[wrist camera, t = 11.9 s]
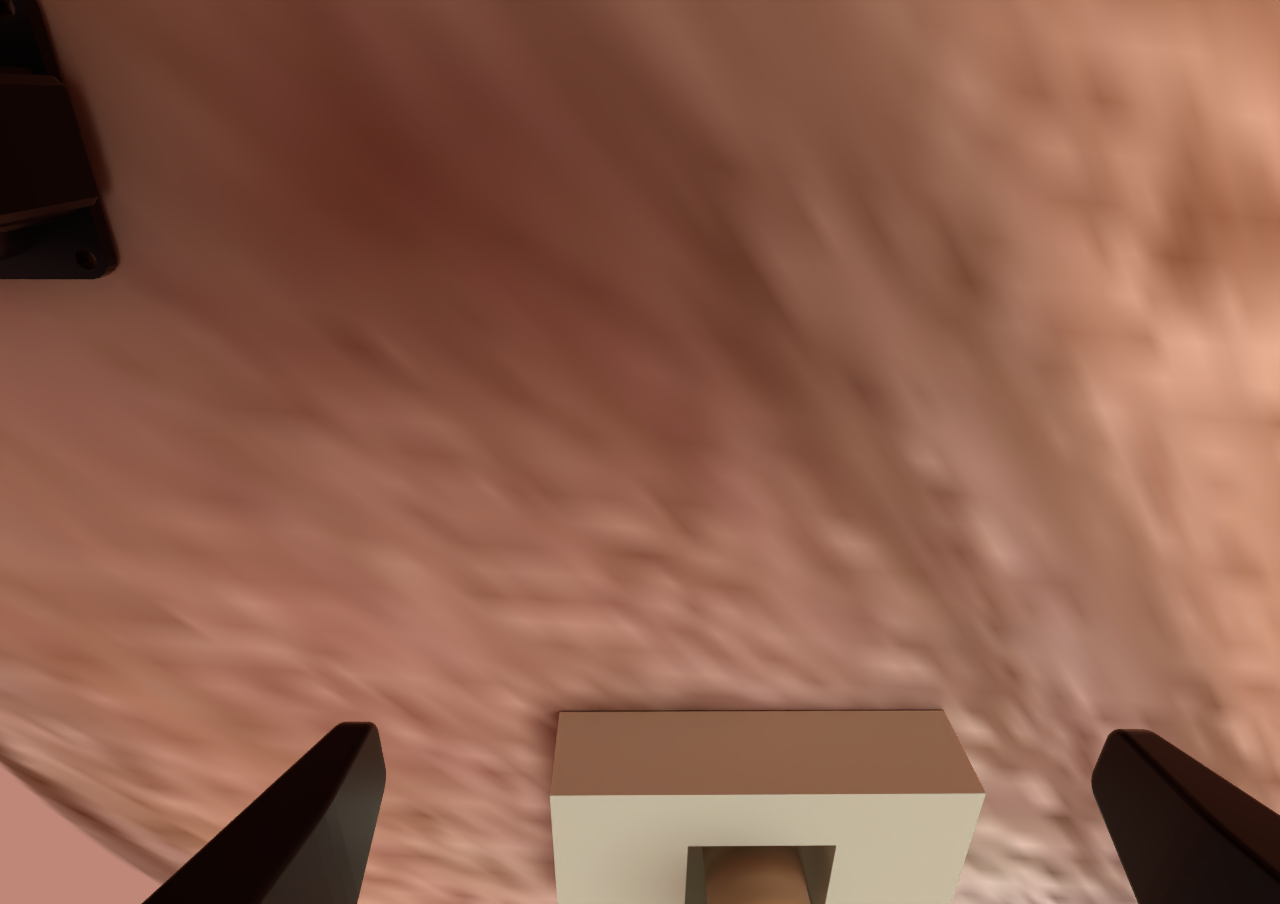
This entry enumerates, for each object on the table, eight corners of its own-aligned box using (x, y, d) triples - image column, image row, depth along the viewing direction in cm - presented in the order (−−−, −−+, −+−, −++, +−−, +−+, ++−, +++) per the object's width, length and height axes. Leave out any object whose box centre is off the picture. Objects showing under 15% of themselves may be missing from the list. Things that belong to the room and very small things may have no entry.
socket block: (569, 886, 31) (562, 976, 28) (559, 711, 26) (549, 795, 23) (898, 883, 31) (929, 973, 28) (943, 710, 26) (985, 793, 23)
